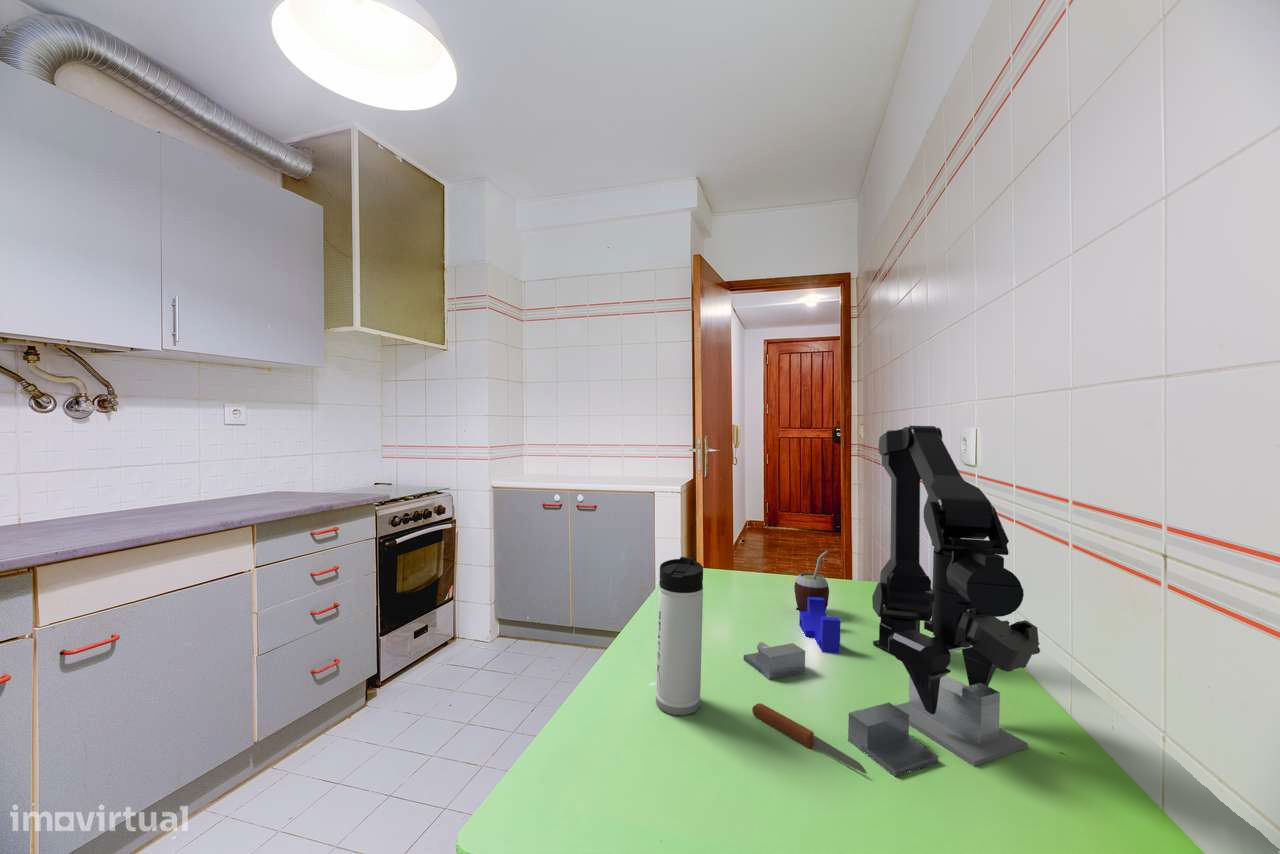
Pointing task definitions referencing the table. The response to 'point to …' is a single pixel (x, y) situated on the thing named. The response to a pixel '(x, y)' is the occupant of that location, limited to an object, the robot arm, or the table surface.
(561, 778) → the table surface
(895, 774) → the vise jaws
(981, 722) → the steel bar
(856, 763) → the kitchen knife
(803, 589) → the mate gourd
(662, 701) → the travel mug
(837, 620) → the blue stepped block
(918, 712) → the mat
